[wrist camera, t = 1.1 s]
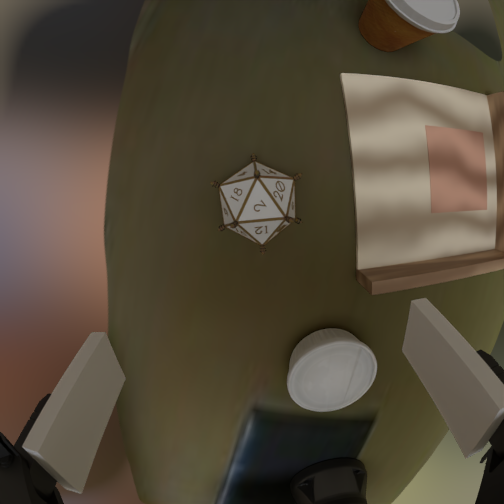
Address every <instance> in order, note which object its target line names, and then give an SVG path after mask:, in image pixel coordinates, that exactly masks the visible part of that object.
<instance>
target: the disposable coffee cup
mask: <svg viewBox="0 0 504 504" xmlns="http://www.w3.org/2000/svg"><path fill="white" fill-rule="evenodd" d="M459 15H460V9H459V4H458V2H457V0H368V2H367V4H366V6H365V9H364V11H363V13H362V16H361V18H360V20H359V30H360V32H361V34H362V36H363V37H364V38H365V39H366V41H367V42H368V43H369V44H371V45H372V46H374V47H375V48H377V49H379V50H382V51H386V52H393V51H396V50H398V49H400V48H402V47H405V46H407V45H409V44H412V43H414V42H416V41H418V40H421V39H423V38H426V37H428V36H430V35H433V34H435V33H447V32H450V31H451V30H453V29H454V27H455V26H456V24H457V20H458V19H459Z"/></svg>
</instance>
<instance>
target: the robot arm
mask: <svg viewBox="0 0 504 504" xmlns="http://www.w3.org/2000/svg"><path fill="white" fill-rule="evenodd" d="M402 352H403V353H404V355H405V356H406V358H407V359H408V361H409V362H410V364H411V366H412V367H413V369H414V370H415V372H416V374H417V375H418V377H419V378H420V380H421V382H422V383H423V385H424V386H425V388H426V390H427V391H428V393H429V395H430V396H431V398H432V400H433V401H434V403H435V405H436V406H437V408H438V410H439V411H440V413H441V415H442V417H443V418H444V420H445V422H446V424H447V425H448V427H449V429H450V431H451V432H452V434H453V436H454V438H455V440H456V442H457V443H458V445H459V447H460V449H461V451H462V453H463V455H464V456H465V458H468V457H470V456H472V455H474V454H476V453H477V452H479V451H481V450H482V449H483V448H484V446H485V445H486V443H487V442H488V441H489V442H490V444H491V445H492V446H491V448H490V449H489V450H488V451H487V453H486V454H485V455H484V456H483V457H482V459H481V461H480V463H483V461H484V460H485V459H486V458H487V461H486V466H485V470H484V474H483V478H482V482H481V486H480V489H479V493H478V496H477V499H476V502H475V504H504V370H503V369H502V367H501V366H499V364H498V363H497V362H496V361H495V359H494V358H493V357H492V356H491V355H489V354H487V353H486V352H484V351H482V350H479V351H475V350H474V349H473V348H472V346H471V345H470V344H469V343H468V342H467V341H466V340H465V339H464V338H463V336H462V335H461V334H460V333H459V332H458V331H457V330H456V329H455V328H454V327H453V326H452V325H451V323H450V322H449V321H448V320H447V319H446V318H445V317H444V316H443V315H442V314H441V313H440V312H439V311H438V310H437V309H436V308H435V307H434V306H433V305H432V304H431V303H430V302H429V301H428V300H427V299H426V298H422V299H417V300H412V301H411V306H410V312H409V317H408V323H407V328H406V333H405V338H404V343H403V348H402ZM125 379H126V378H125V376H124V374H123V372H122V370H121V367H120V365H119V363H118V361H117V358H116V356H115V354H114V352H113V349H112V347H111V344H110V342H109V340H108V337H107V335H106V332H92V333H91V334H90V335H89V337H88V338H87V340H86V341H85V343H84V344H83V346H82V347H81V349H80V350H79V352H78V353H77V355H76V356H75V358H74V359H73V361H72V362H71V364H70V366H69V367H68V369H67V370H66V372H65V373H64V375H63V377H62V378H61V380H60V381H59V383H58V385H57V386H56V388H55V389H54V391H53V393H52V394H47V395H46V396H45V397H44V398H43V399H42V400H41V401H40V402H39V403H38V405H37V407H36V408H35V410H34V412H33V413H32V415H31V417H30V420H28V422H27V424H26V426H25V427H24V429H23V431H22V432H21V434H20V436H19V438H18V440H17V441H16V443H15V445H14V446H13V445H12V444H11V443H10V442H9V440H8V439H7V438H6V437H5V436H4V435H3V434H2V433H1V432H0V504H64V503H63V501H62V498H61V496H60V493H59V491H58V489H57V488H56V487H55V485H56V482H58V483H60V484H61V485H62V486H63V487H64V488H65V489H68V490H71V491H74V492H77V493H80V494H81V493H82V491H83V488H84V485H85V482H86V480H87V476H88V474H89V471H90V468H91V465H92V462H93V460H94V457H95V454H96V451H97V449H98V446H99V443H100V441H101V438H102V436H103V433H104V430H105V428H106V425H107V423H108V420H109V418H110V415H111V413H112V410H113V407H114V405H115V403H116V400H117V398H118V395H119V393H120V391H121V388H122V386H123V384H124V381H125ZM366 484H367V472H366V469H365V467H364V464H363V463H362V462H361V461H359V460H356V459H351V458H340V459H332V460H327V461H323V462H320V463H317V464H314V465H312V466H310V467H307V468H305V469H304V470H302V471H300V472H299V473H298V474H296V475H295V476H294V477H293V479H292V480H291V483H290V487H291V494H292V496H293V498H294V499H295V501H296V503H297V504H367V501H366Z"/></svg>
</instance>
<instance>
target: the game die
mask: <svg viewBox="0 0 504 504" xmlns="http://www.w3.org/2000/svg"><path fill="white" fill-rule="evenodd" d="M256 157H257V156H255V154H254V153H253V154H252V156H251V160H252V162H251V163H250V164H248V165H247V166H246V167H244V168H243V169H241V170H240V171H238V172H237V173H235V174H234V175H232V176H231V177H230V178H228V179H227V180H225V181H224V182H222V183H221V184H219V183H218V182H215V181H214V182H210V183H211V184H212V187H213V186H214V187H218V188H219V195H220V202H221V209H222V216H223V223H224V225H221V226H219V229H218V231H223V230H224V229H225V227H226V228H228V229H230V230H232V231H234V232H236V233H238V234H239V235H241V236H243V237H245V238H247V239H249V240H251V241H253V242H255V243H257V244H258V245H260V246H261V248H260V249H261V251H260V252H261V253H262V254H263V255H264V253H265V251H266V250H265V249H266V248H265V246H264V245H265V244H267V243H268V242H269V241H270V240H271V239H273V238H274V237H275V236H276V235H278V234H279V233H280V232H281V231H282V230H284V229H285V228H286V227H287V226H289V225H290V224H291V223H292V222H293V221H295V222H296V223H297V224H299V223H302V221H301V219H299V218H296V210H295V180H298V179H299V178H300V177H301V175H302V174H296V175H295V176H294V177H290V176H288V175H286V174H284V173H281V172H279V171H277V170H275V169H272V168H270V167H268V166H266V165H263V164H261V163H258V162H256V159H257V158H256Z"/></svg>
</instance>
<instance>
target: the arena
mask: <svg viewBox="0 0 504 504" xmlns="http://www.w3.org/2000/svg"><path fill="white" fill-rule="evenodd" d="M340 80H341V86H342V92H343V99H344V105H345V112H346V120H347V128H348V136H349V145H350V154H351V165H352V176H353V190H354V206H355V228H356V280H357V281H358V282H359V283H360V284H361V285H362V286H363V287H364V288H365V289H366V290H367V291H368V292H369V293H370V294H371V295H376V294H382V293H388V292H394V291H400V290H405V289H411V288H416V287H422V286H427V285H432V284H437V283H442V282H447V281H452V280H457V279H461V278H466V277H471V276H475V275H480V274H484V273H488V272H492V271H497V270H501V269H504V91H503V92H498V93H494V94H490V95H483V94H480V93H476V92H472V91H468V90H464V89H459V88H455V87H450V86H445V85H440V84H435V83H430V82H424V81H418V80H411V79H404V78H396V77H387V76H377V75H365V74H349V73H341V74H340Z"/></svg>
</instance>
